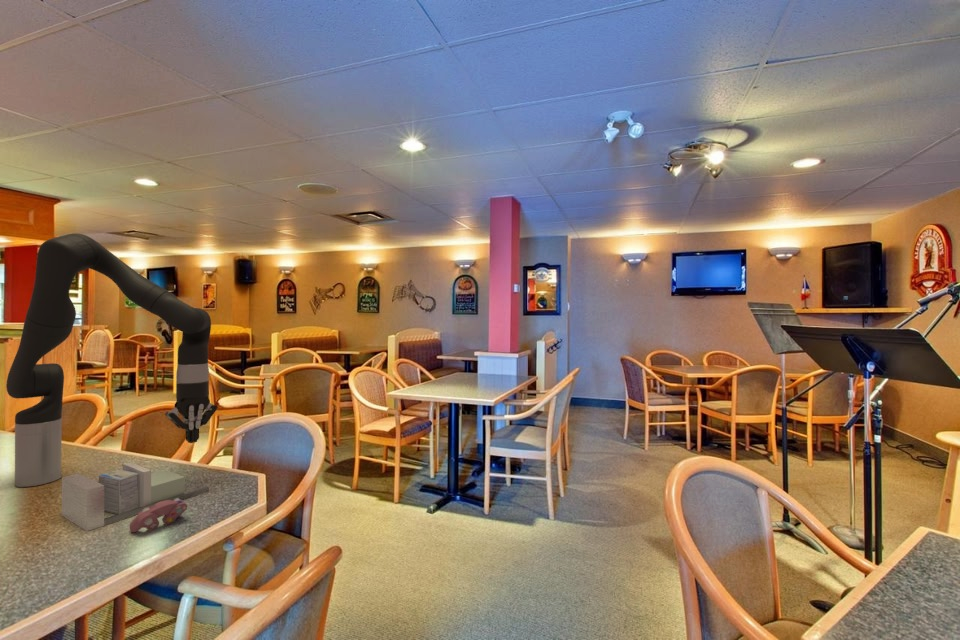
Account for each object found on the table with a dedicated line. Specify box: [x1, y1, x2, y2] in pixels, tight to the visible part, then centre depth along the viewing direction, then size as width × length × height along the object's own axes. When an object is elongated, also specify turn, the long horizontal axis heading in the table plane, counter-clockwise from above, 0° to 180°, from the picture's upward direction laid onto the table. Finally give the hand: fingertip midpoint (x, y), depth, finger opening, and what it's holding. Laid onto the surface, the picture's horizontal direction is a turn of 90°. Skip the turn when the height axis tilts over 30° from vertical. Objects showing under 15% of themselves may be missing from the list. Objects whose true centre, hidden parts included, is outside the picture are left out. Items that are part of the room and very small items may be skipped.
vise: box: [61, 472, 210, 532], centre depth 108 cm, size 15×26×9 cm, turn 150°
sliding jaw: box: [122, 461, 186, 507], centre depth 111 cm, size 12×9×9 cm
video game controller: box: [129, 498, 188, 533], centre depth 96 cm, size 10×5×7 cm, turn 149°
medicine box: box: [98, 469, 139, 515], centre depth 104 cm, size 8×4×9 cm, turn 70°
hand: (192, 442), depth 119 cm, fingers closed
